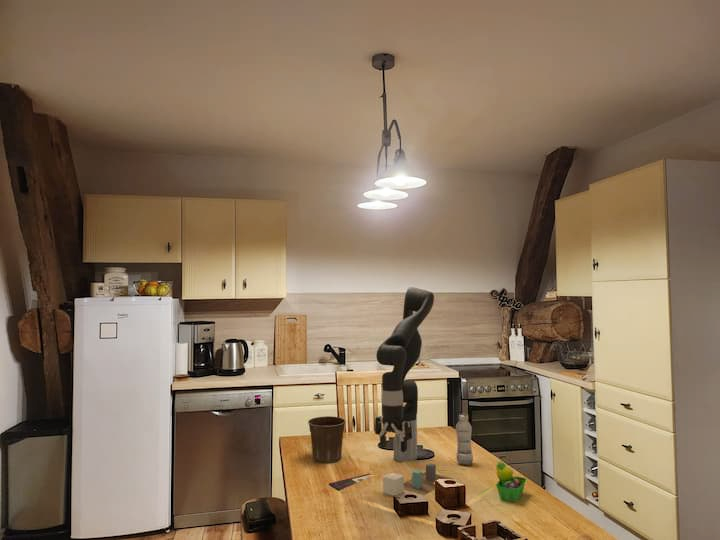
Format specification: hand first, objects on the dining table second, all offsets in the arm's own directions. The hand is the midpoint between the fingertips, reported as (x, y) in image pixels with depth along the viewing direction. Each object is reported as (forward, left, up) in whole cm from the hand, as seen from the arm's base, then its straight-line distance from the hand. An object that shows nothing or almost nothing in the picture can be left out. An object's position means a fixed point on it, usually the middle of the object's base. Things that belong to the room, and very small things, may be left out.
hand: (393, 449), depth 179 cm
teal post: (+4, +9, -15) cm, 18 cm away
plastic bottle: (+4, +44, -16) cm, 47 cm away
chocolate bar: (-18, +1, -17) cm, 25 cm away
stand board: (+4, +14, -16) cm, 21 cm away
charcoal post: (+4, +18, -15) cm, 23 cm away
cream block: (0, 0, -16) cm, 16 cm away
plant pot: (-46, +15, -16) cm, 51 cm away
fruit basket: (+32, +24, -16) cm, 43 cm away
